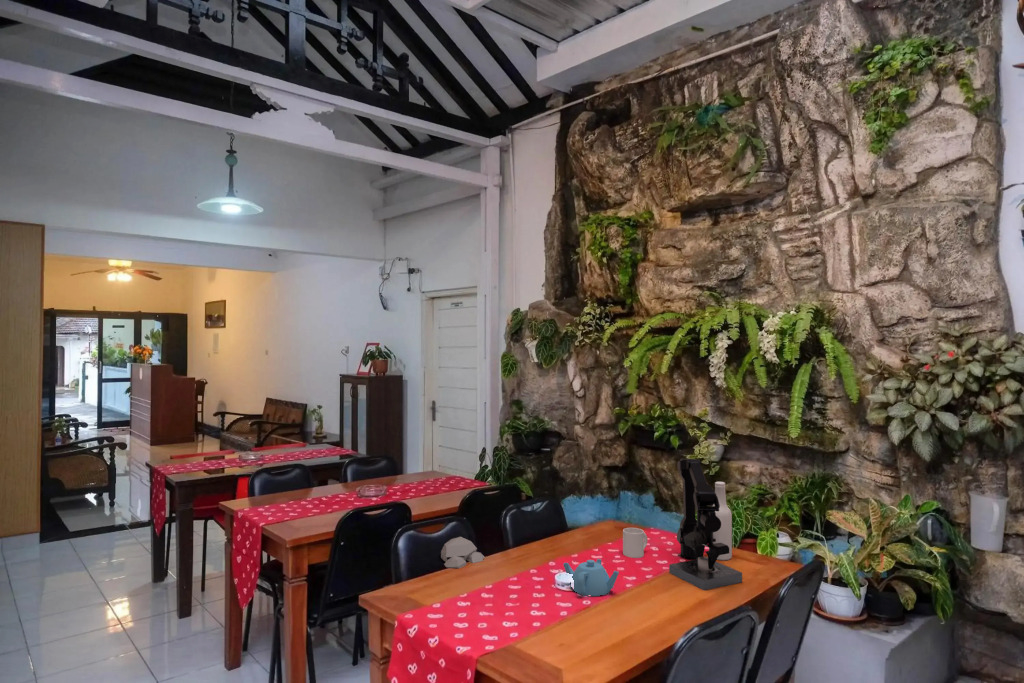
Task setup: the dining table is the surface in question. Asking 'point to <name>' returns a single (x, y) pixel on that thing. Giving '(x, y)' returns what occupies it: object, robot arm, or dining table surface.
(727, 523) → the alcohol
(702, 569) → the cap
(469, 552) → the rock
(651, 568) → the dining table surface
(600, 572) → the teapot
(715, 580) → the dark grey square base
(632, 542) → the mug
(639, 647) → the dining table surface
